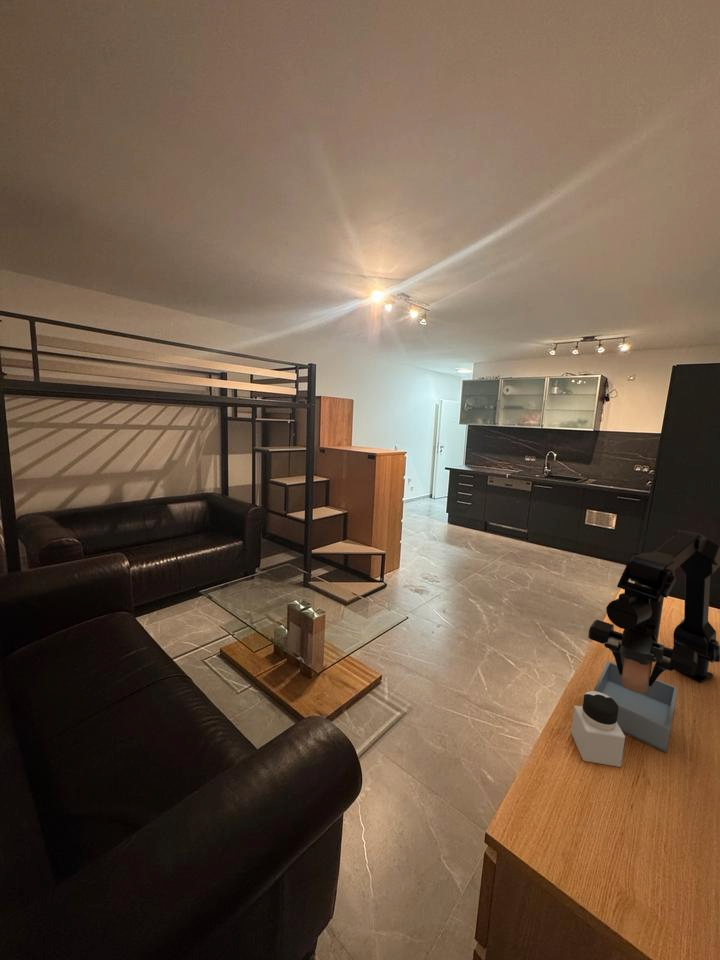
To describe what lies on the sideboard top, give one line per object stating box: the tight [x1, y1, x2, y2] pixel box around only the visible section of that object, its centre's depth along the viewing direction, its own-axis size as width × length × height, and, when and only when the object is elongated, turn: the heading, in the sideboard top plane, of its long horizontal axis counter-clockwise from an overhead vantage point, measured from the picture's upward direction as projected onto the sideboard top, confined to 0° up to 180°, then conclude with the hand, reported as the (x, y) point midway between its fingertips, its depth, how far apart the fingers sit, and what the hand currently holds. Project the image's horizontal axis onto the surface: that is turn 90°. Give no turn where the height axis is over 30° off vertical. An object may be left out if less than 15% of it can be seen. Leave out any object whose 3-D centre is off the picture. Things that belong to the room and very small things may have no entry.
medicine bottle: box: [570, 690, 626, 768], centre depth 78 cm, size 7×7×12 cm
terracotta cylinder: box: [621, 658, 653, 693], centre depth 84 cm, size 5×5×7 cm
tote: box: [592, 661, 678, 754], centre depth 89 cm, size 17×14×6 cm
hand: (635, 679), depth 84 cm, fingers closed on terracotta cylinder, 5 cm apart
